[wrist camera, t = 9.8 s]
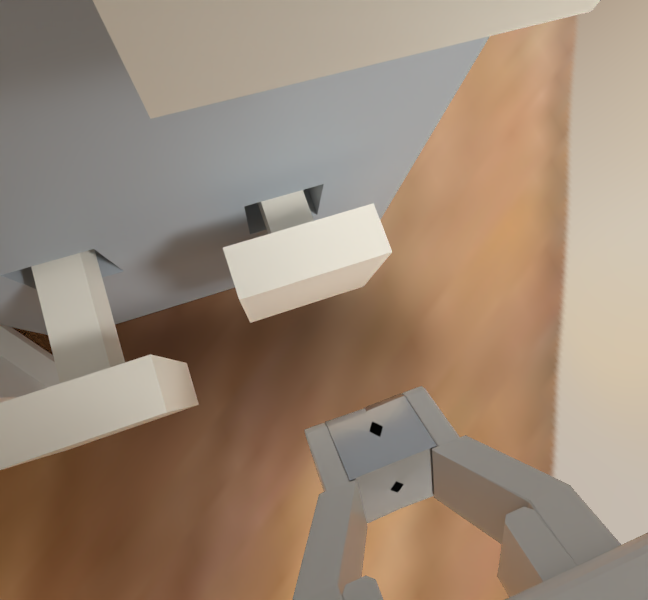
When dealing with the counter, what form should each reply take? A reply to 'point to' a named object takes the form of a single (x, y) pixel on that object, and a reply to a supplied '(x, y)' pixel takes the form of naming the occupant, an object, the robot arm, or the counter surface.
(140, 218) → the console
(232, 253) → the button bottom right
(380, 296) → the counter surface
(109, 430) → the button bottom left
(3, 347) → the card
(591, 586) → the robot arm
